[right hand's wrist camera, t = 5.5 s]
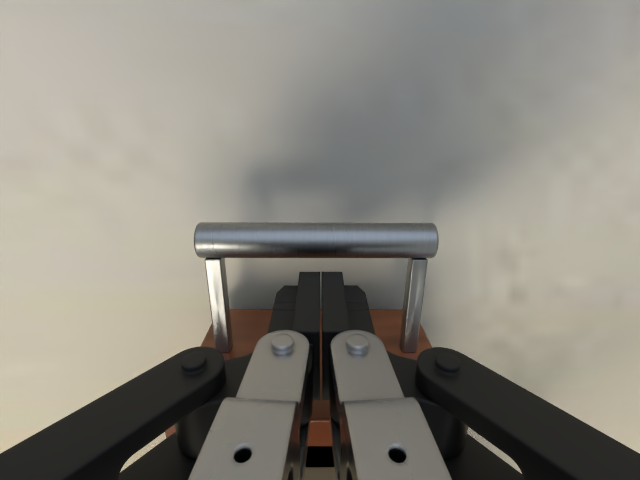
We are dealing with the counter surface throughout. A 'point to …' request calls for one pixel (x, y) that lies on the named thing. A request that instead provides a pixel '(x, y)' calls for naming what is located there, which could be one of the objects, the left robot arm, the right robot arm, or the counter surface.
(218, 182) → the counter surface
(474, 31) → the counter surface
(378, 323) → the drawer
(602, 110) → the counter surface
